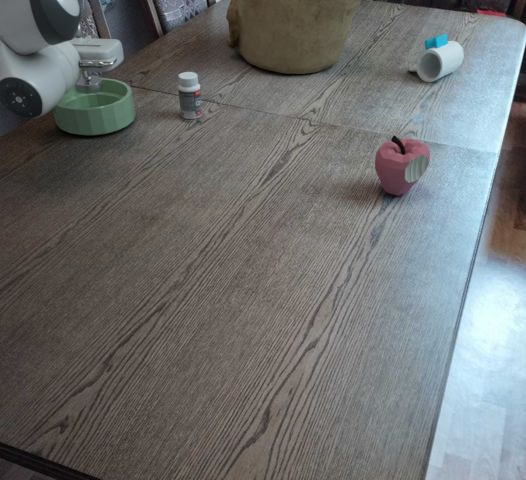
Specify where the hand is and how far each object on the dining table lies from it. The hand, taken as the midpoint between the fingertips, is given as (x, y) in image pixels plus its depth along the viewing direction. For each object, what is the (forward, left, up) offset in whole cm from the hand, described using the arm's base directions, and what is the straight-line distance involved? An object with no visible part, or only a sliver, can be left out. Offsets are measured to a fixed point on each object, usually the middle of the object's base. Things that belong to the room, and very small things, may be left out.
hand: (80, 39), depth 108 cm
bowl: (0, 0, -16) cm, 16 cm away
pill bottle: (+14, +15, -16) cm, 26 cm away
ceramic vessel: (+9, +59, -16) cm, 61 cm away
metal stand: (0, -1, -9) cm, 9 cm away
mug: (+45, +71, -16) cm, 85 cm away
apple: (+65, +14, -16) cm, 69 cm away
